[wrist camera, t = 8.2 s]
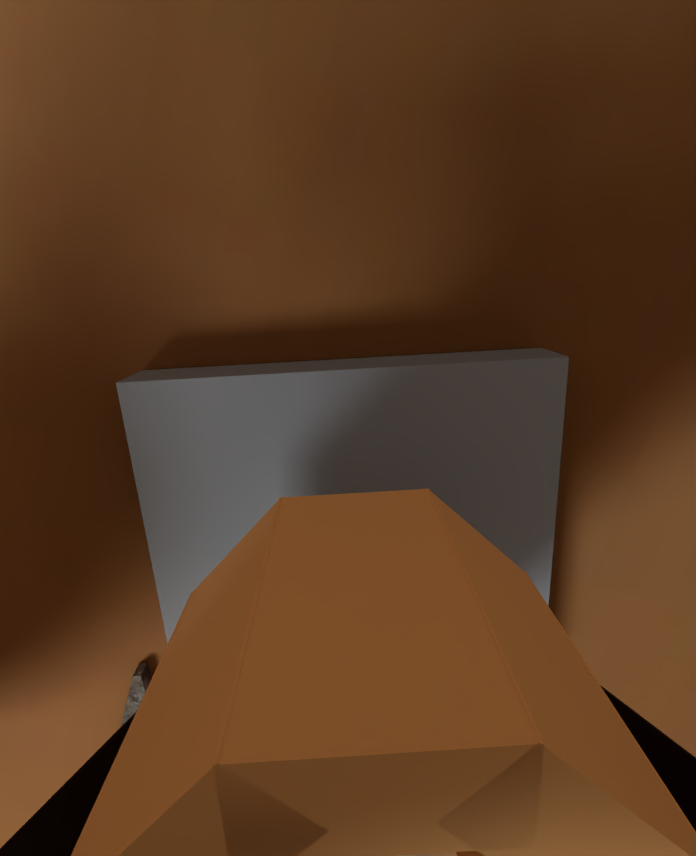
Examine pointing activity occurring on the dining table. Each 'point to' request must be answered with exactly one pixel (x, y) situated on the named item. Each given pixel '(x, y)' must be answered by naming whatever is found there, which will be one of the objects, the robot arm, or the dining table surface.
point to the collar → (376, 706)
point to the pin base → (344, 449)
